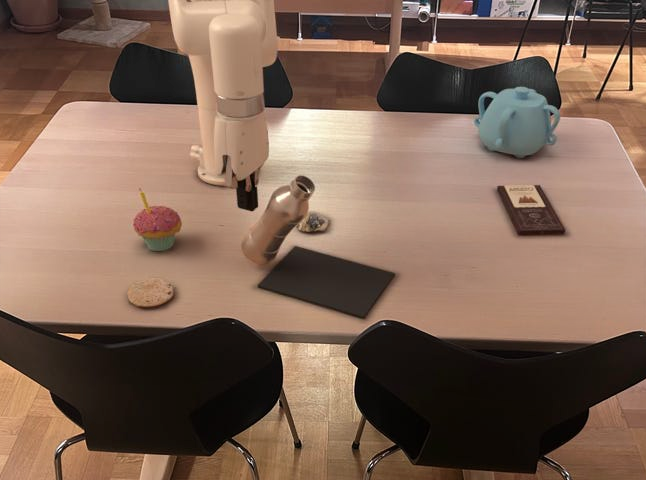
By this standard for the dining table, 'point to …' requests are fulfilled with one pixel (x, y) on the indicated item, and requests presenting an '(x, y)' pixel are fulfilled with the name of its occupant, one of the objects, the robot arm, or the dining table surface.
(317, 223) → the mineral rock
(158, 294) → the flatbread
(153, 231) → the cupcake
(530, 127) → the decorative pot
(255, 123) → the robot arm
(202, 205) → the dining table surface
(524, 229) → the chocolate bar
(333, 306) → the mat
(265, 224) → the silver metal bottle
